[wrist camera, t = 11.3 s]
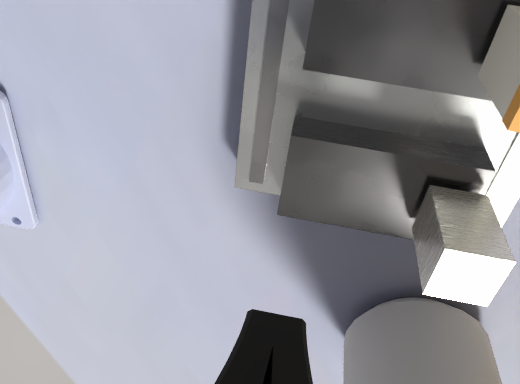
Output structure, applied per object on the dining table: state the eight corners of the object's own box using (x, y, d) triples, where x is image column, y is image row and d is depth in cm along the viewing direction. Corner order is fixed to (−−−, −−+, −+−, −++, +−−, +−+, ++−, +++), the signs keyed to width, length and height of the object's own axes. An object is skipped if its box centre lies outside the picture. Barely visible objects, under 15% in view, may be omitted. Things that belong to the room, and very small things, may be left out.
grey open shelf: (241, 167, 21) (205, 273, 15) (297, -386, 11) (251, -600, 6) (488, 212, 20) (536, 338, 15) (783, -333, 10) (1230, -522, 5)
